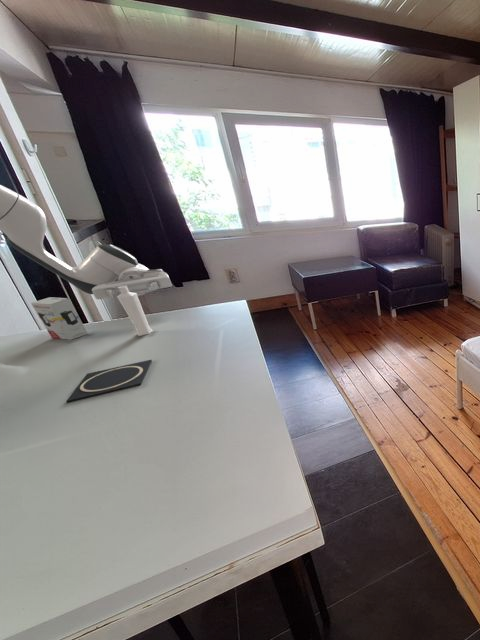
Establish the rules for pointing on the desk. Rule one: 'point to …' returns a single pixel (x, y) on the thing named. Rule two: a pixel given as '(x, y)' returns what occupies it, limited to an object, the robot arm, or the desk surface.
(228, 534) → the desk surface
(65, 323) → the ink box
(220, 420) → the desk surface
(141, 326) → the perfume bottle
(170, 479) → the desk surface
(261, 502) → the desk surface
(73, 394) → the circle mat
